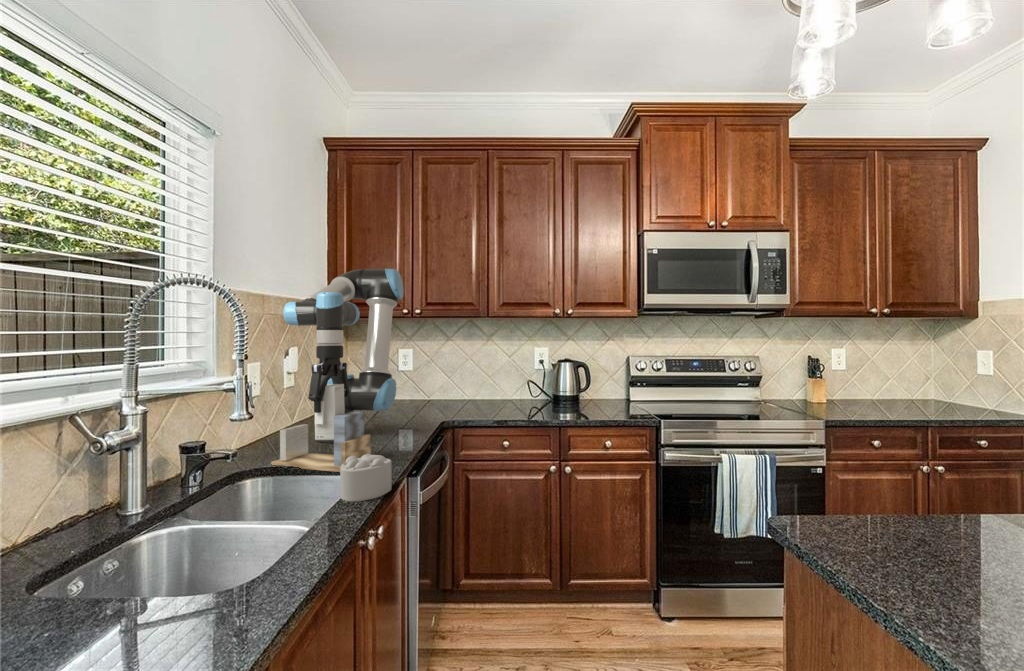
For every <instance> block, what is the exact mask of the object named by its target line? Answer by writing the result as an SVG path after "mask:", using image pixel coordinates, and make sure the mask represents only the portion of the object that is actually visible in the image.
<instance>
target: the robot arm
mask: <svg viewBox="0 0 1024 671" xmlns="http://www.w3.org/2000/svg"><path fill="white" fill-rule="evenodd" d="M404 292H405V291H404V283H403V279H402V275H401V273H400V272H399V271H398V270H397V269H395V268H358V269H353V270H350V271H347V272H344V273H342V274H340V275H338V276H336V277H335V278H333V279H332V280H331V282H330V284H328V285H327V286H324V287H323V288H322V289H320V290H318V291H317V292H315V293H314V294H312V295H310V296H308V297H307V298H305V299H303V300H301V301H289V302H287V303H286V304H285V305H284V307H283V310H282V311H283V312H282V314H283V319H284V321H285V323H286V324H287V325H289V326H297V327H301V326H302V327H305V326H306V327H307V326H310V327H311V326H316V344H318V345H317V346H316V347H315V349H316V351H315V353H316V355H315V356H316V358H317V359H319V361H318V364H312V365H311V378H310V384H309V391H308V398H307V399H308V400H309V401H311V402H313V412H314V425H315V424H324V401H322V399H323V396H324V393H325V387H326V386H327V384H344V406H345V413H349V412H353V411H368V412H369V411H370V412H371V411H374V412H379V411H388V410H389V409H390V408H391V407H392V406H393V404H394V402H395V400H396V395H397V382H396V379H395V378H393V374H392V373H391V372H390V370H389V365H390V364H389V362H390V351H391V347H390V346H391V338H392V337H391V335H392V324H393V312H394V310H393V309H394V308H395V307H397V306H398V301H399V300H402V299H403V298H404ZM350 300H365V303H366V304H367V305H368V306H369V311H368V319H367V320H368V321H367V322H368V324H367V331H366V333H367V334H366V342H365V355H364V356H365V357H364V368H363V369H362V370H361V371H359V373H358V375H359V376H358V377H357V378H356V377H355V375H354V374H348V371H347V370H348V368H347V366H348V363H347V362H341V359H342V358H343V357H344V346H343V345H342V344H343V343H344V327H349V326H352V325H353V326H354V324H356V323H357V322H358V321H359V320H360V315H361V312H360V310H359V307H358V306H357V304H355V303H353V302H350ZM315 441H316V442H319V443H324V444H325V443H326V444H330V443H332V444H334V440H315Z"/></svg>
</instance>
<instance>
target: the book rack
mask: <svg viewBox="0 0 1024 671" xmlns="http://www.w3.org/2000/svg"><path fill="white" fill-rule="evenodd" d="M371 442H372V441H371V434H369V433H367V434H365V412H364V411H360V410H354V411H353V412H349V413H345V414H341V415H337V416H334V443H333V454H330V453H313V452H308V454H305V455H302V456H299V457H296V458H293V459H290V460H287V461H280V458H279V459H275V460H273V461H270V465H271V464H272V465H285V466H294V467H299V468H301V469H302V470H310V471H311V470H313V471H324V472H325V471H326V472H334V473H337V472H338V473H340V468H341V465H342V464H344V463H345V461H346V459H347V458H348V457H350V456H355V457H356V458H361V457H362V456H363V455H365V454H371V451H372V449H371V448H372V446H371V445H372V444H371ZM371 455H372V454H371ZM299 468H298V469H299Z"/></svg>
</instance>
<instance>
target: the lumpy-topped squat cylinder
mask: <svg viewBox="0 0 1024 671" xmlns="http://www.w3.org/2000/svg"><path fill="white" fill-rule="evenodd" d="M339 474H340V475H339V476H340V478H339V479H340V480H339V481H340V482H339V484H340V487H339V490H340V492H339V493H340V496H339V497H340V499H341V500H342V501H344V500H345V502H363V501H369V500H372V499H376V498H379V497H382V496H384V495H385V494H387V493H389V492H390V491H391V490H392V460H391V459H390V458H386V457H385V456H384V455H379V454H365V455H363V456H362V457H361V458H356V457H355V456H350V457H348V458H347V459H346V461H345V463H344V464H342V465H341V468H340V472H339Z"/></svg>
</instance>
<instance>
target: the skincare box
mask: <svg viewBox="0 0 1024 671" xmlns="http://www.w3.org/2000/svg"><path fill="white" fill-rule="evenodd" d="M322 401H324V424H315V423H314V440H315V441H316V440H334V416H337V415H341V414H345V406H344V384H327V386H326V387H325V393H324V396H323V399H322Z"/></svg>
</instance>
